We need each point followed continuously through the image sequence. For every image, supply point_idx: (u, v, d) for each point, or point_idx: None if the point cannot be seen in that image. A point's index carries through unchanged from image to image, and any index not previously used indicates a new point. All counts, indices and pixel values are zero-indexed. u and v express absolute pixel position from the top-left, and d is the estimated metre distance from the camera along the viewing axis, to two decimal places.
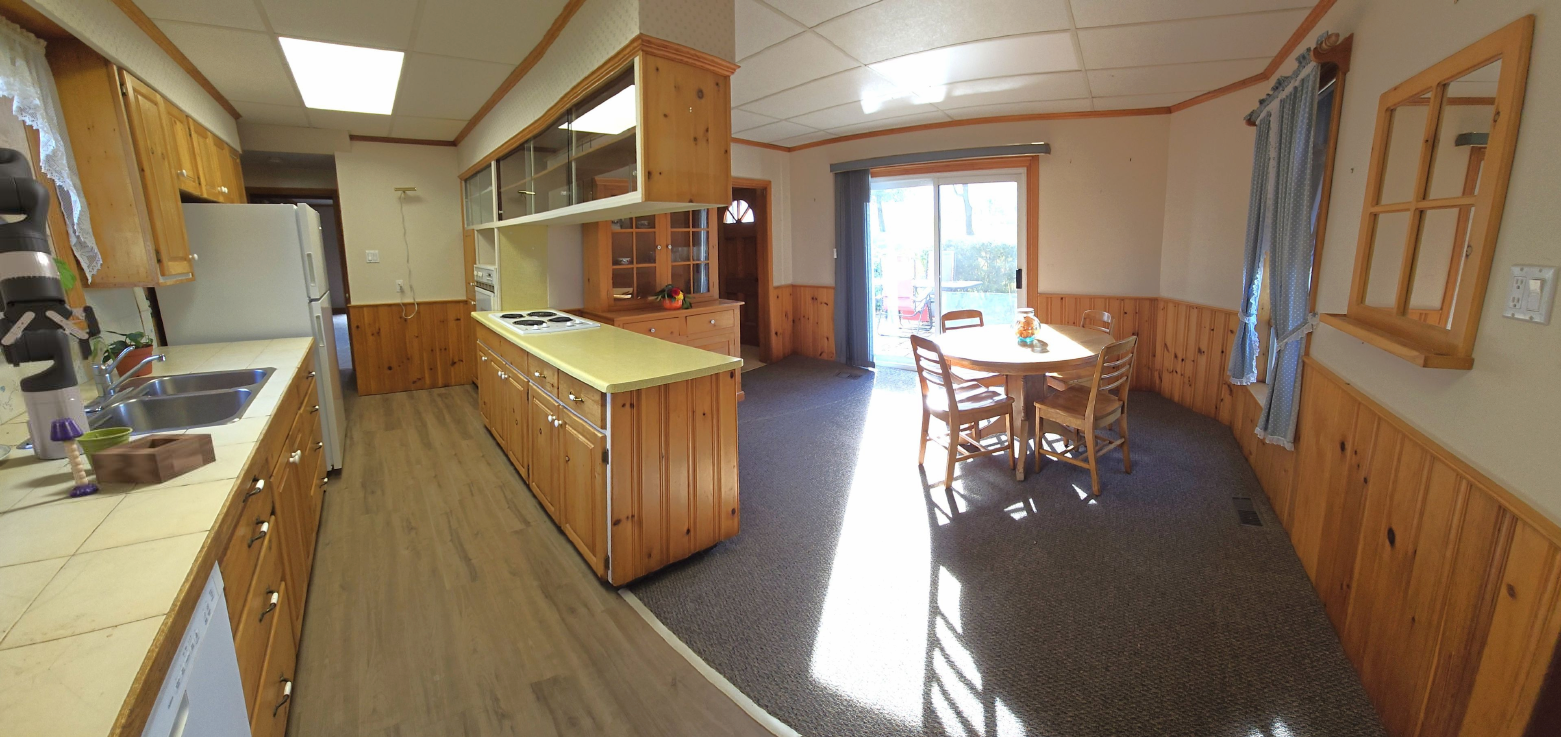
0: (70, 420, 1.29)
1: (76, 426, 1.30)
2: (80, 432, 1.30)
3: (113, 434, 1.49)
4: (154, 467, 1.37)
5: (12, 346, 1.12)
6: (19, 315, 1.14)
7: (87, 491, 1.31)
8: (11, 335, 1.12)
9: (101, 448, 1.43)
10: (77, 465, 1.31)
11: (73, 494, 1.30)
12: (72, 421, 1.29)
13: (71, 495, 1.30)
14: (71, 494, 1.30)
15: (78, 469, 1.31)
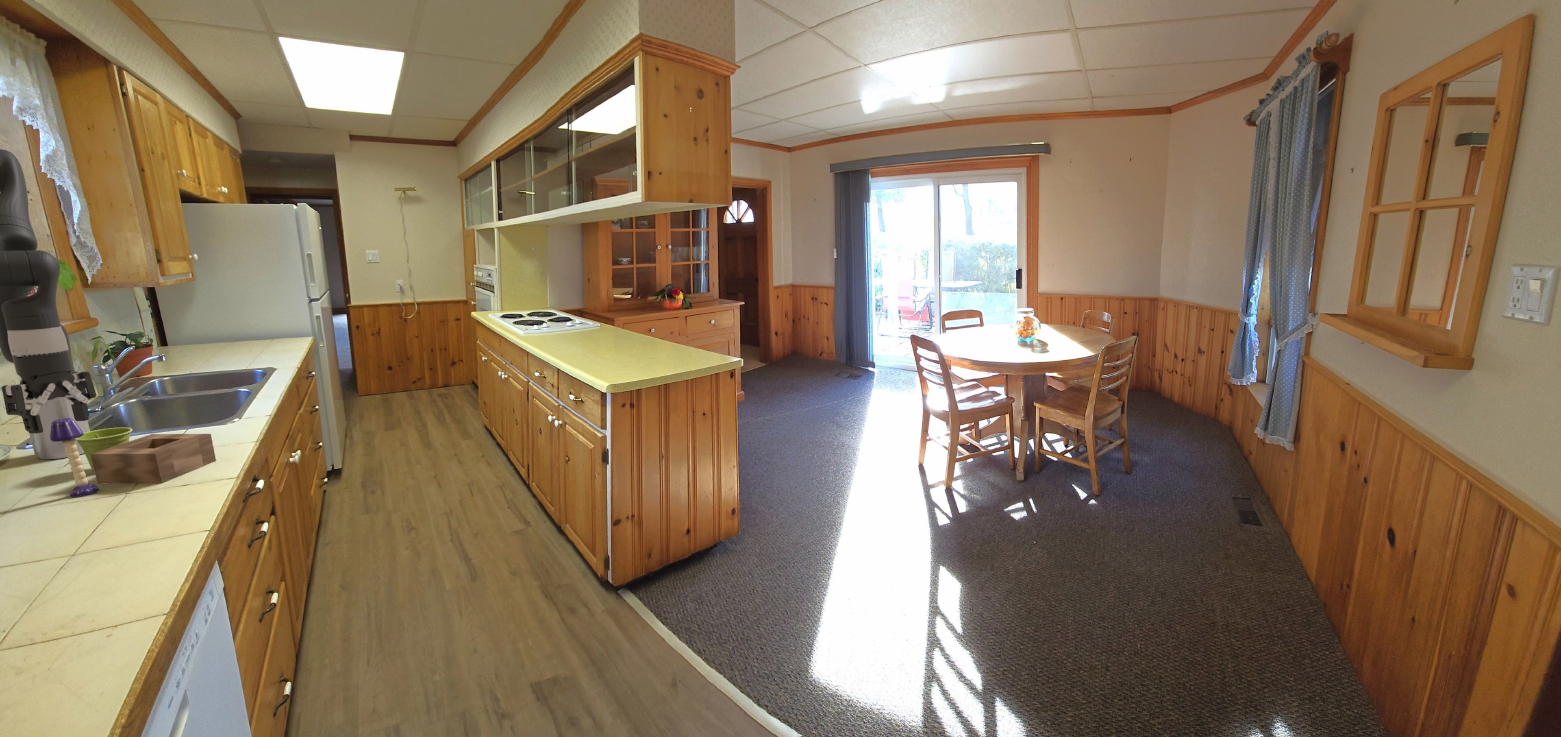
0: (70, 420, 1.29)
1: (76, 426, 1.30)
2: (80, 432, 1.30)
3: (113, 434, 1.49)
4: (154, 467, 1.37)
5: (37, 416, 1.24)
6: (40, 386, 1.24)
7: (87, 491, 1.31)
8: (37, 406, 1.23)
9: (101, 448, 1.43)
10: (77, 465, 1.31)
11: (73, 494, 1.30)
12: (72, 421, 1.29)
13: (71, 495, 1.30)
14: (71, 494, 1.30)
15: (78, 469, 1.31)
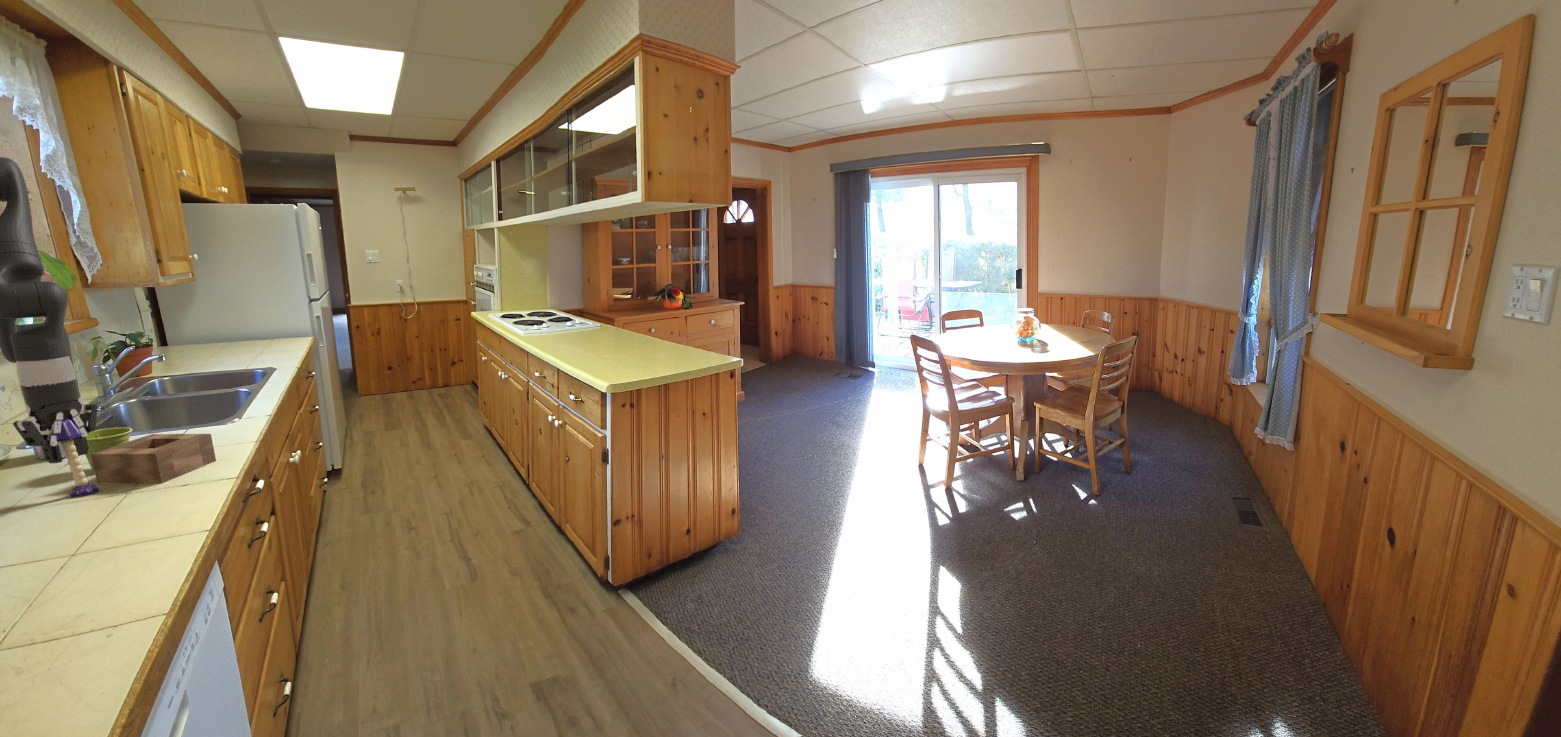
0: (68, 420, 1.28)
1: (74, 426, 1.29)
2: (78, 432, 1.30)
3: (113, 434, 1.49)
4: (154, 467, 1.37)
5: (57, 446, 1.27)
6: (49, 414, 1.26)
7: (87, 491, 1.31)
8: (54, 436, 1.26)
9: (101, 448, 1.43)
10: (76, 465, 1.30)
11: (73, 494, 1.30)
12: (69, 422, 1.29)
13: (71, 495, 1.30)
14: (71, 494, 1.30)
15: (77, 469, 1.31)
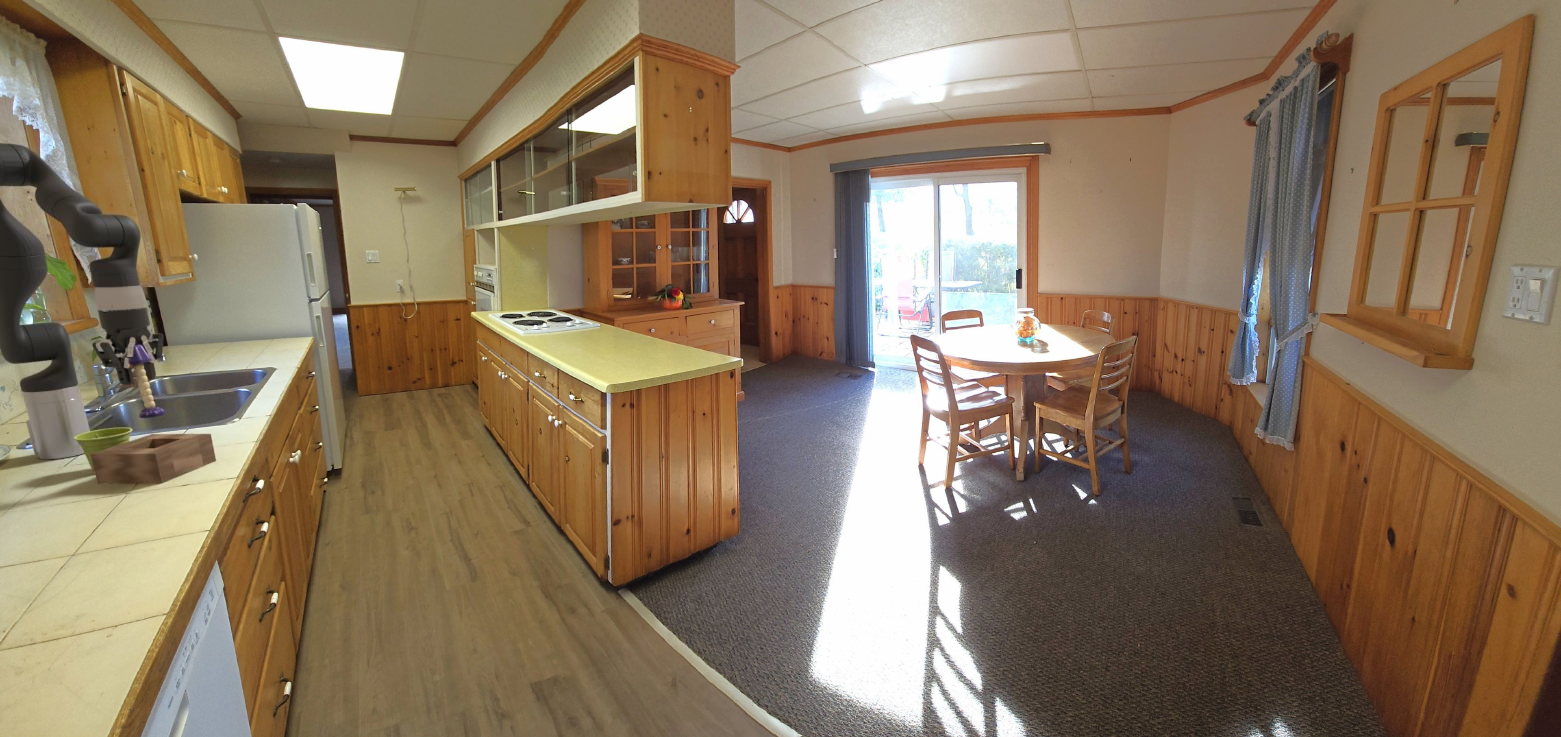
0: (139, 345, 1.38)
1: (144, 351, 1.39)
2: (148, 357, 1.40)
3: (113, 434, 1.49)
4: (154, 467, 1.37)
5: (129, 369, 1.37)
6: (123, 338, 1.36)
7: (155, 413, 1.41)
8: (127, 359, 1.36)
9: (101, 448, 1.43)
10: (146, 388, 1.40)
11: (142, 415, 1.40)
12: (141, 347, 1.39)
13: (141, 416, 1.40)
14: (141, 415, 1.40)
15: (147, 392, 1.40)
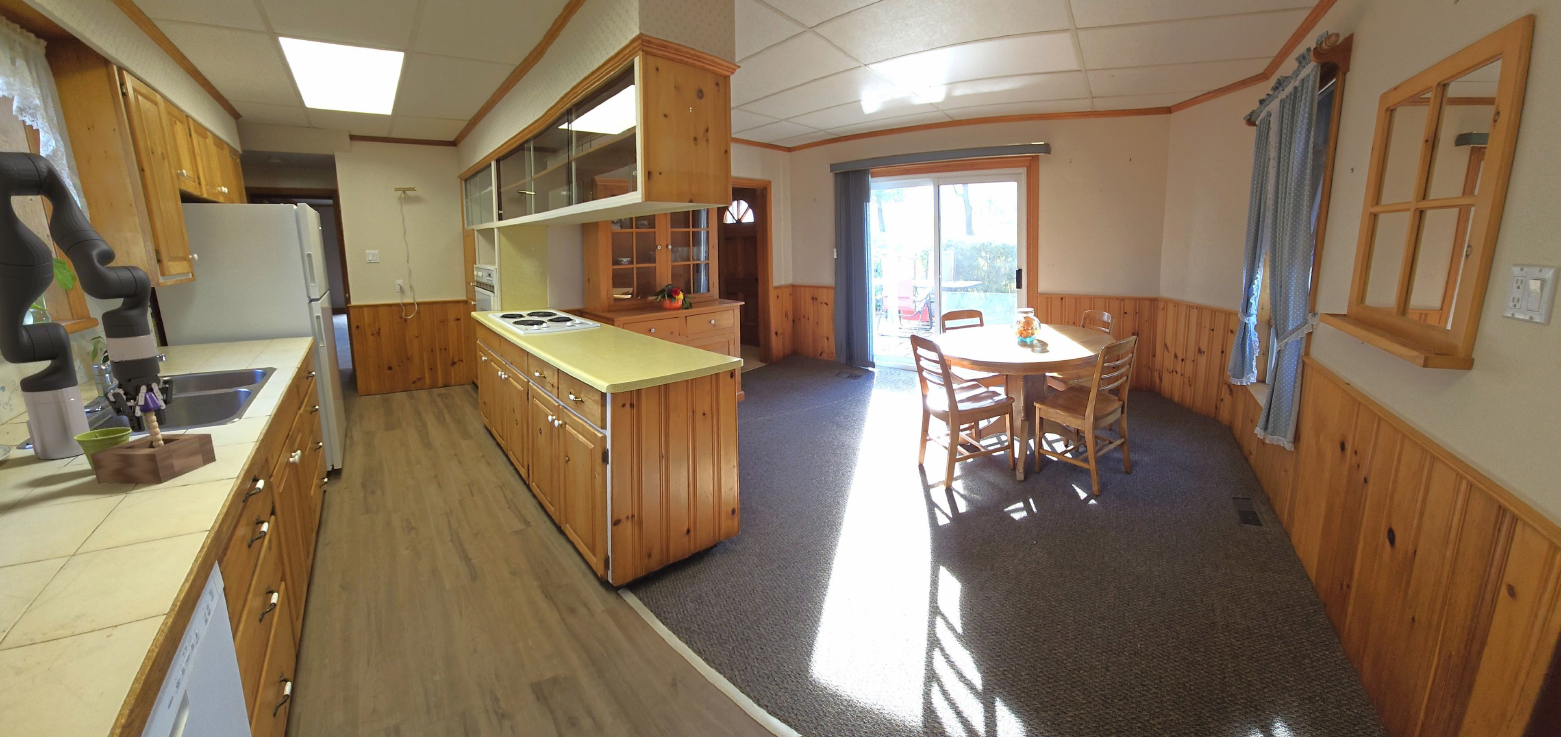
0: (150, 393, 1.41)
1: (155, 399, 1.42)
2: (158, 404, 1.42)
3: (113, 434, 1.49)
4: (154, 467, 1.37)
5: (140, 416, 1.39)
6: (134, 387, 1.38)
7: None
8: (138, 407, 1.39)
9: (101, 448, 1.43)
10: (156, 434, 1.43)
11: None
12: (151, 394, 1.41)
13: None
14: None
15: (157, 438, 1.43)
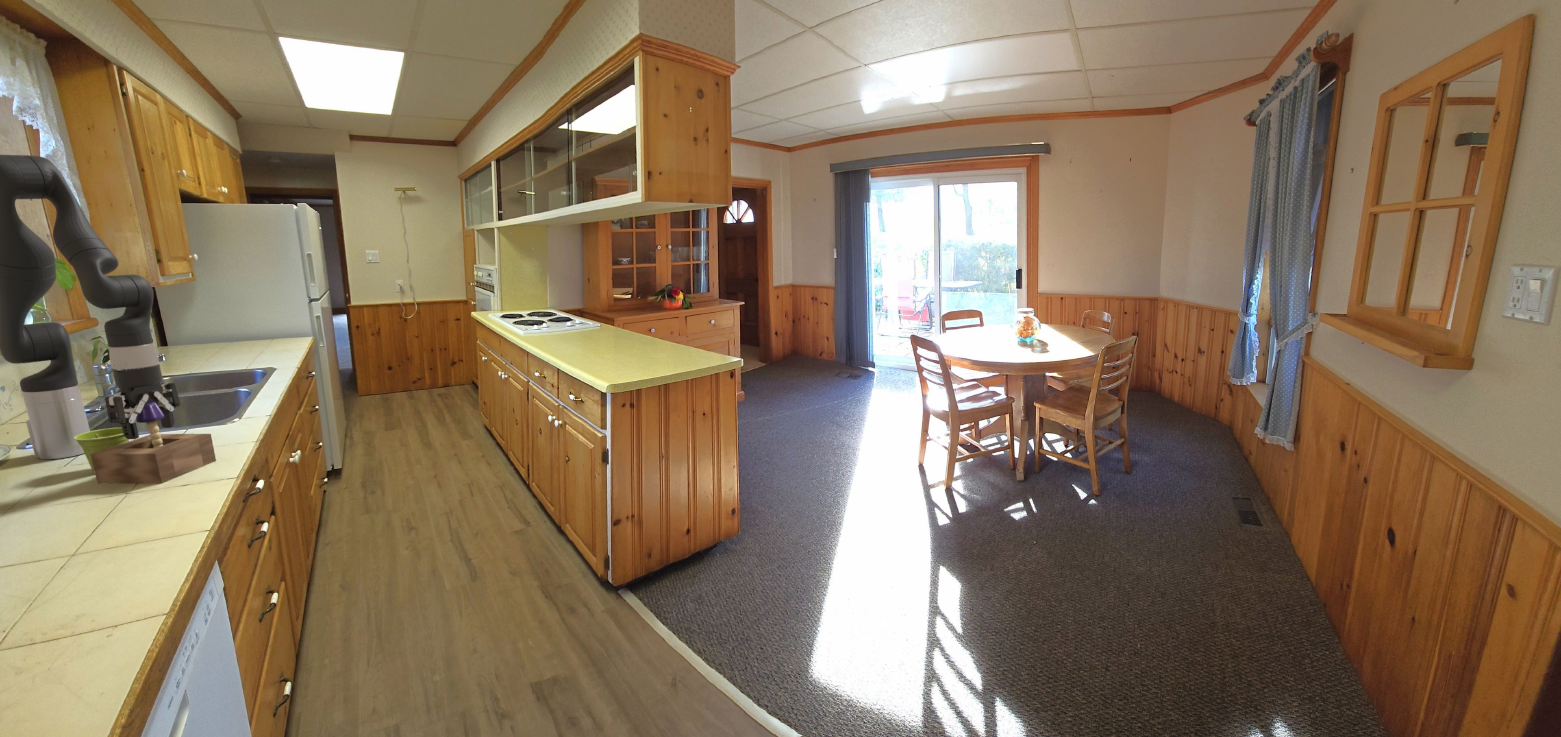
0: (153, 403, 1.42)
1: (158, 409, 1.42)
2: (161, 414, 1.43)
3: (113, 434, 1.49)
4: (154, 467, 1.37)
5: (134, 423, 1.38)
6: (136, 397, 1.38)
7: None
8: (134, 414, 1.38)
9: (101, 448, 1.43)
10: (159, 445, 1.43)
11: None
12: (155, 404, 1.42)
13: None
14: None
15: None
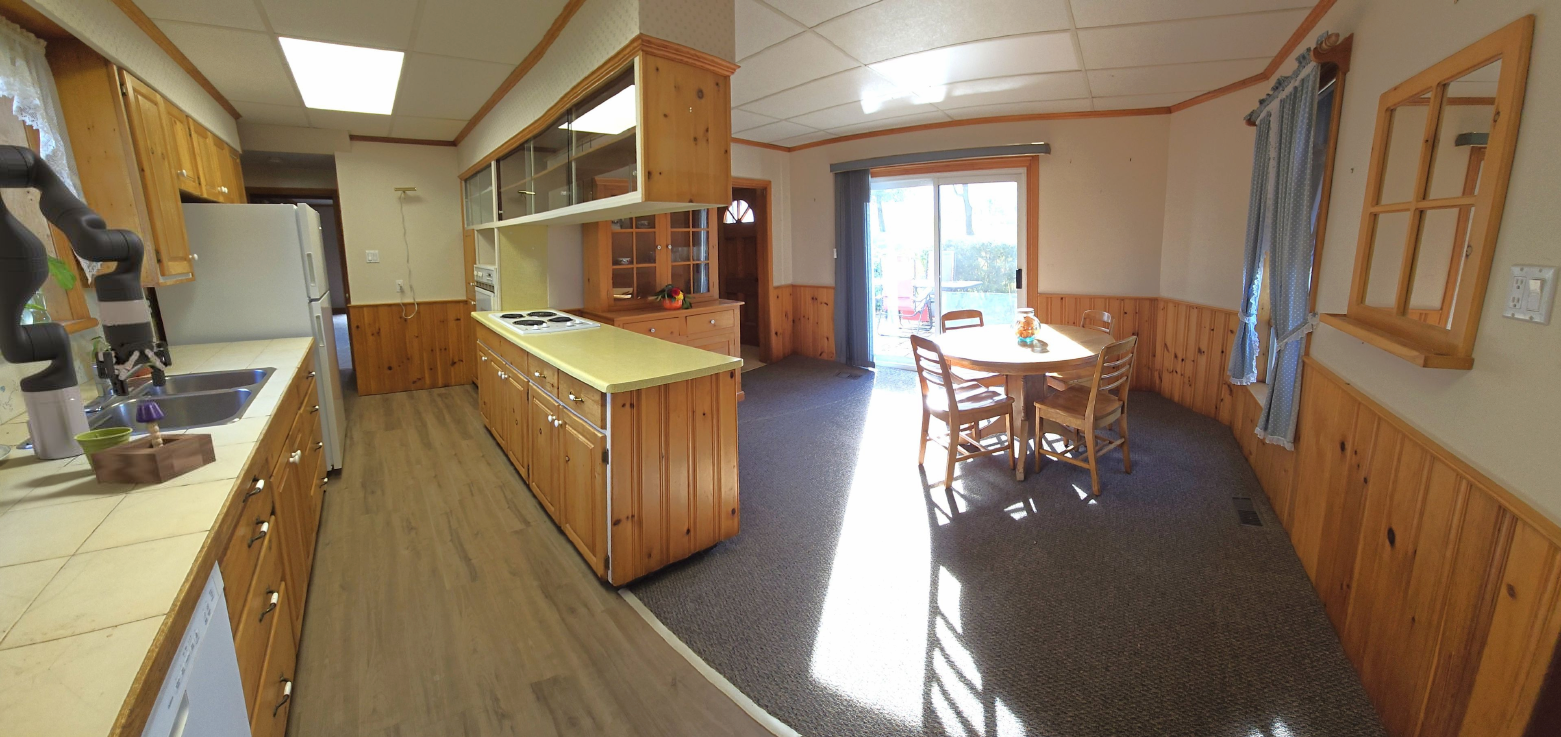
0: (153, 403, 1.42)
1: (158, 409, 1.42)
2: (161, 414, 1.43)
3: (113, 434, 1.49)
4: (154, 467, 1.37)
5: (124, 380, 1.36)
6: (127, 353, 1.36)
7: None
8: (124, 371, 1.35)
9: (101, 448, 1.43)
10: (159, 445, 1.43)
11: None
12: (155, 405, 1.42)
13: None
14: None
15: None
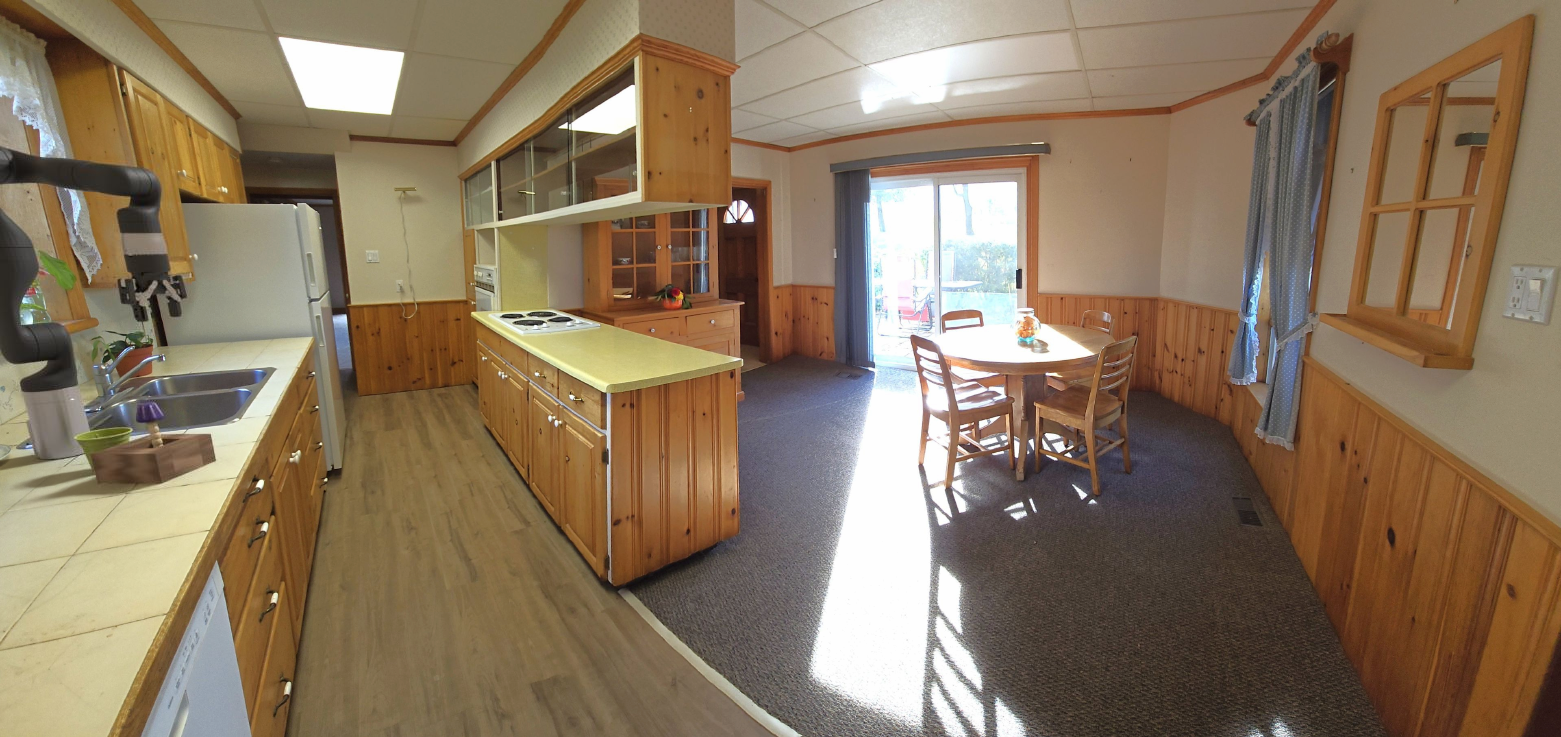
0: (153, 403, 1.42)
1: (158, 409, 1.42)
2: (161, 414, 1.43)
3: (113, 434, 1.49)
4: (154, 467, 1.37)
5: (144, 307, 1.47)
6: (146, 282, 1.48)
7: None
8: (144, 298, 1.47)
9: (101, 448, 1.43)
10: (159, 445, 1.43)
11: None
12: (155, 405, 1.42)
13: None
14: None
15: None
